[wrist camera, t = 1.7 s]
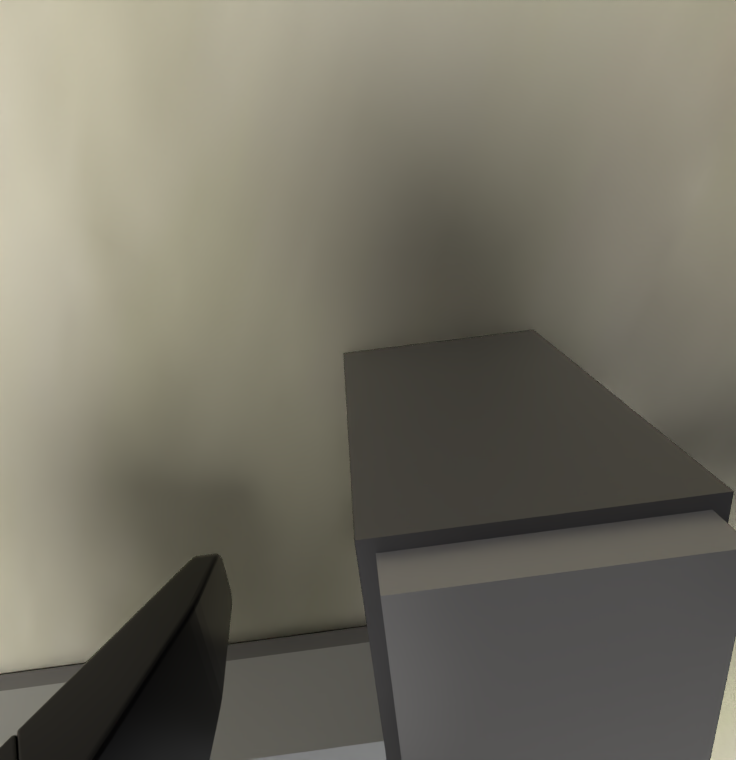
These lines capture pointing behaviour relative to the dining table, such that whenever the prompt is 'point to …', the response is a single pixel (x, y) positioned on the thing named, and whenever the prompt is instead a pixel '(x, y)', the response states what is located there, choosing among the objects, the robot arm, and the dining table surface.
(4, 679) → the socket plate
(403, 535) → the plug
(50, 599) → the dining table surface
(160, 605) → the robot arm
